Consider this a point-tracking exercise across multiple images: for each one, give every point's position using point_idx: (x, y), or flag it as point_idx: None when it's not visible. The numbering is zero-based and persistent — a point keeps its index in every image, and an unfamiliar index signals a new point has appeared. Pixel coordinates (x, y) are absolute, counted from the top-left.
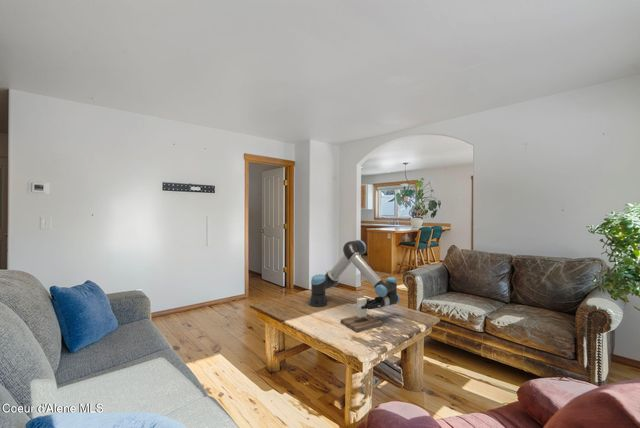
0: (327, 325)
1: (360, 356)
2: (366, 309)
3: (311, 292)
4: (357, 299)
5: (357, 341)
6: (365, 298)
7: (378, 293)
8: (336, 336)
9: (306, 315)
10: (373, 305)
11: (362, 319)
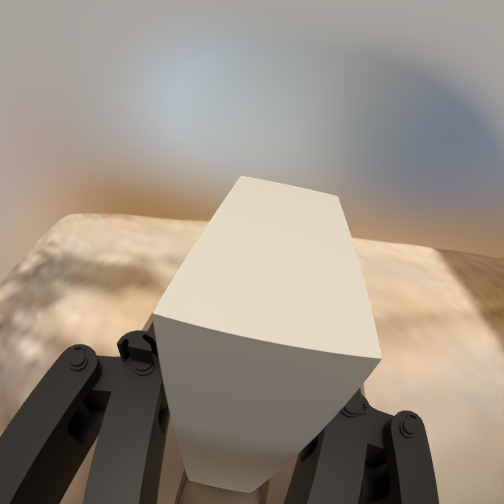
0: None
1: (74, 214)
2: (182, 456)
3: None
4: (315, 196)
5: (112, 263)
6: (210, 302)
7: None
8: None
9: (472, 305)
10: (5, 440)
11: (264, 501)
